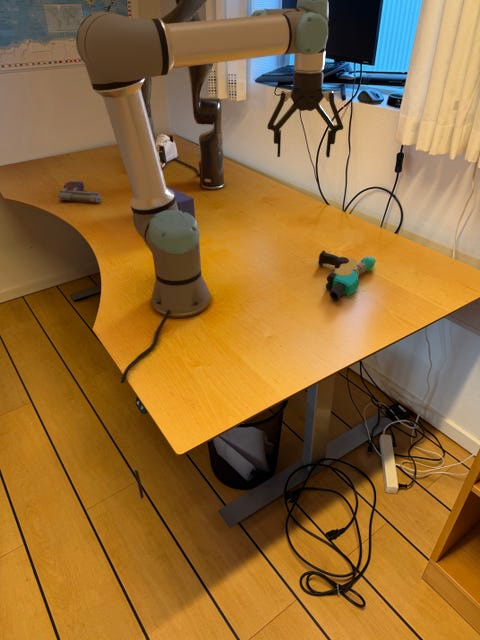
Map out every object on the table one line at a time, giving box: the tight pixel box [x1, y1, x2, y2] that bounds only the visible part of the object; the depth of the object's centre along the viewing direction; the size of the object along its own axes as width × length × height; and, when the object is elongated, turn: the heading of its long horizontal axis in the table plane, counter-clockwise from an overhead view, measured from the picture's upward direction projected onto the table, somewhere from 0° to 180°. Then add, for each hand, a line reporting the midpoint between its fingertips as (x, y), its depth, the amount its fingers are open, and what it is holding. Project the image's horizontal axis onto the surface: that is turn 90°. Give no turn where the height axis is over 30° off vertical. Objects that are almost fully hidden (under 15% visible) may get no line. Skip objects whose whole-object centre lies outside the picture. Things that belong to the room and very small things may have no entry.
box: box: [166, 185, 196, 219], centre depth 163 cm, size 24×6×12 cm, turn 42°
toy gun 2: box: [318, 250, 376, 303], centre depth 132 cm, size 4×26×15 cm
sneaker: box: [155, 133, 179, 168], centre depth 214 cm, size 10×29×12 cm, turn 163°
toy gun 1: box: [56, 180, 103, 204], centre depth 185 cm, size 4×19×15 cm
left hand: (303, 155), depth 133 cm, fingers open, 13 cm apart
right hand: (149, 179), depth 164 cm, fingers open, 8 cm apart
